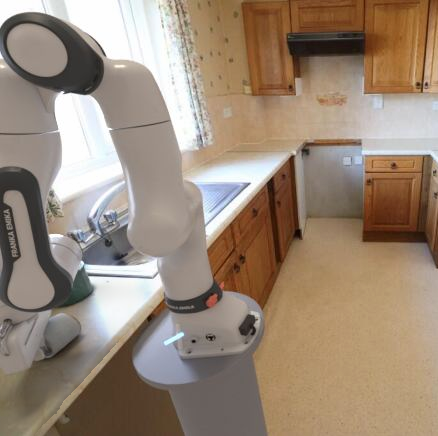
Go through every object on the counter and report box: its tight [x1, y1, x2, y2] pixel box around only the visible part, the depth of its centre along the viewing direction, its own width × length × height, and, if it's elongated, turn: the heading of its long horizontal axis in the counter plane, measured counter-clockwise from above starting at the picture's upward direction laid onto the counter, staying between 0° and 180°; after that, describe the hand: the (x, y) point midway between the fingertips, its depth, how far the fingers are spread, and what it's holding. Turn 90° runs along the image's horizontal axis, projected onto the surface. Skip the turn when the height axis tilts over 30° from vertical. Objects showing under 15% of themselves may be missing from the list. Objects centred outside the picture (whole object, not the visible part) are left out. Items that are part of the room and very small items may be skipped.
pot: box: [59, 267, 94, 307], centre depth 95 cm, size 10×10×8 cm
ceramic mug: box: [43, 312, 82, 359], centre depth 77 cm, size 11×8×8 cm
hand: (41, 355), depth 71 cm, fingers closed
